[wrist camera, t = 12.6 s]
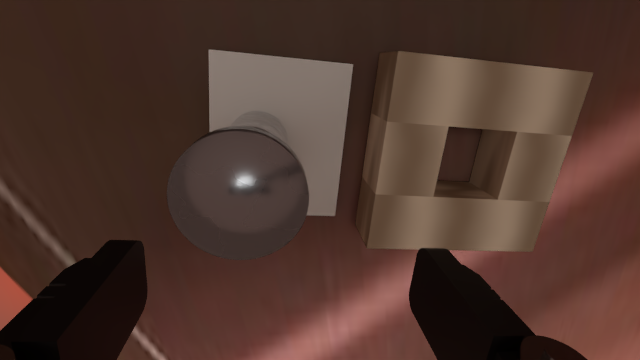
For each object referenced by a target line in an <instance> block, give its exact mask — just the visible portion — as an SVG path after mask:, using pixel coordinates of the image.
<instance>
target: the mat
mask: <svg viewBox="0 0 640 360" xmlns="http://www.w3.org/2000/svg"><path fill="white" fill-rule="evenodd" d="M352 70H353V64H345V63H336V62H326V61H316V60H306V59H297V58H287V57H277V56H268V55H258V54H248V53H238V52H229V51H219V50H209V122H210V132H212V131H214V130H217V129H221V128H225V127H230V126H231V124H232V123H233V122H234V121H235V120H236V119H237V118H238V117H239V116H240V115H242V114H244V113H247V112H250V111H263V112H267V113H269V114H271V115H273V116H275V117H276V118H277V119H278V120H279V121H280V122H281V123H282V124H283V126H284V128H285V130H286V133H287V137H288V146H289V147H290V148H291V149H292V150H293V151H294V153H295V154H296V155H297V157H298V158H299V160H300V162H301V164H302V166H303V169H304V171H305V175H306V179H307V184H308V191H309V206H308V212H307V215H316V216H335V211H336V203H337V195H338V187H339V178H340V170H341V162H342V153H343V145H344V137H345V128H346V120H347V112H348V103H349V95H350V87H351V78H352Z"/></svg>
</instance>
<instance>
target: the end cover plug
mask: <svg viewBox="0 0 640 360" xmlns="http://www.w3.org/2000/svg"><path fill="white" fill-rule="evenodd" d="M167 201H168V207H169V210H170V214H171V216H172V218H173V220H174V222H175V224H176V226H177V227H178V229H179V230H180V231H181V233H182V234H183V235H184V236H185V237H186V238H187V239H188V240H189V241H190V242H191V243H193V244H194V245H195V246H197V247H198V248H200V249H202V250H203V251H205V252H207V253H210V254H212V255H215V256H218V257H221V258H226V259H233V260H249V259H256V258H260V257H263V256H266V255H269V254H271V253H273V252H275V251H277V250H279V249H281V248H282V247H283V246H285V245H286V244H287V243H289V242H290V241H291V240H292V239H293V238H294V236H295V235H296V234H297V233H298V231H299V230H300V228H301V227H302V225H303V223H304V221H305V218H306V215H307V212H308V206H309V191H308V184H307V179H306V175H305V171H304V169H303V166H302V164H301V162H300V160H299V158H298V157H297V155H296V154H295V153H294V151H293V150H292V149H291V148H290V147H289V146H288V137H287V133H286V130H285V128H284V126H283V124H282V123H281V122H280V121H279V120H278V119H277V118H276V117H275V116H273V115H271V114H269V113H267V112H263V111H250V112H247V113H244V114H242V115H240V116H239V117H238V118H237V119H236V120H235V121H234V122H233V123H232V124H231V126H230V127H225V128H221V129H217V130H214V131H212V132H209V133H208V134H206V135H204V136H202V137H201V138H199V139H198V140H197V141H196V142H194V143H193V144H192V145H191V146H190V147H189V148H188V149H187V150H186V151H185V152H184V153H183V154H182V155H181V156H180V158H179V159H178V160H177V162H176V163H175V165H174V167H173V169H172V171H171V174H170V177H169V180H168V186H167Z"/></svg>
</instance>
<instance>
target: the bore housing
mask: <svg viewBox="0 0 640 360" xmlns="http://www.w3.org/2000/svg"><path fill="white" fill-rule="evenodd" d="M592 75H593V73H592V72H583V71H574V70H565V69H556V68H547V67H538V66H529V65H520V64H511V63H502V62H493V61H484V60H475V59H466V58H457V57H448V56H439V55H430V54H421V53H412V52H403V51H392V52H381V53H380V54H379V61H378V68H377V75H376V82H375V89H374V96H373V103H372V110H371V117H370V124H369V131H368V138H367V145H366V152H365V159H364V166H363V173H362V180H361V187H360V194H359V201H358V208H357V215H356V222H355V225H356V227H357V229H358V231H359V233H360V235H361V237H362V239H363V241H364V243H365V246H366V248H371V249H421V248H445V249H448V250H474V251H526V252H532V251H533V249H534V246H535V243H536V240H537V237H538V234H539V231H540V228H541V225H542V222H543V219H544V216H545V213H546V210H547V207H548V205H549V202H550V199H551V196H552V193H553V190H554V187H555V184H556V181H557V178H558V175H559V172H560V169H561V166H562V163H563V161H564V158H565V155H566V152H567V149H568V146H569V143H570V140H571V137H572V134H573V131H574V128H575V125H576V122H577V119H578V116H579V114H580V111H581V108H582V105H583V102H584V99H585V96H586V93H587V90H588V87H589V84H590V81H591V78H592ZM449 126H450V127H463V128H475V129H482V133H481V137H480V141H479V145H478V149H477V153H476V157H475V161H474V165H473V169H472V173H471V177H470V181H469V182H459V181H440V180H437V178H438V173H439V169H440V164H441V160H442V155H443V150H444V146H445V141H446V137H447V132H448V128H449Z"/></svg>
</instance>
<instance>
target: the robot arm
mask: <svg viewBox="0 0 640 360" xmlns="http://www.w3.org/2000/svg"><path fill="white" fill-rule="evenodd" d="M146 299H147V278H146V267H145V255H144V247H143V244H142V242H141V241H134V240H109V241H108V242H106V243H105V244H104V246H103V247H102V248H101V249H100V250H99V251H98V252H97V253H96V254H95V255H94V256H93V257H92V258H84V259H82V260H81V261H79V262H77V263H75V264H73V265H71V266H70V267H68V268H66V269H64V270H63V271H62V272H61V273H60V274H59V275H58V276H57V277H56V278H55V279H54V280H53V281H52V282H51V283H50V285H49V286H46V287H45V288H44V289H43V290H42V291H41V292H40V293H39V294H38V295H37V298H36V299H33V300H32V301H31V302H30V303H29V304H28V305H27V306H26V307H25V308H24V309H23V310H21V311H20V312H19V313H18V314H17V315H16V316H15V317H14V318H13V319H12V320H11V321H10V322H9V323H8V324H7V325H6V326H5V327H4V328H3V329H2V330H1V331H0V360H117V358H118V356H119V354H120V352H121V351H122V349H123V347H124V345H125V343H126V341H127V340H128V338H129V336H130V334H131V332H132V331H133V329H134V327H135V325H136V323H137V321H138V320H139V318H140V316H141V314H142V312H143V310H144V307H145V304H146ZM409 301H410V307H411V310H412V312H413V314H414V316H415V318H416V320H417V322H418V324H419V326H420V328H421V329H422V331H423V333H424V335H425V337H426V339H427V341H428V343H429V344H430V346H431V348H432V350H433V352H434V354H435V356H436V358H437V360H587V359H586V358H585V357H584V356H582V355H581V354H580V353H579V352H577V351H576V350H574V349H573V348H571V347H569V346H568V345H566V344H564V343H562V342H559V341H557V340H554V339H551V338H548V337H544V336H536V335H535V334H534V333H533V332H532V331H531V330H530V328H529V327H528V326H527V325H526V324H525V323H524V322H523V321H522V320H521V319H520V318H519V317H518V316H517V315H516V314H515V312H514V311H513V310H512V309H511V308H510V307H509V306H508V305H507V304H506V303H505V302H504V301H503V300H501V299H500V296H499V295H498V294H497V293H496V292H495V291H494V290H491V287H490V286H489V285H488V284H487V283H486V282H485V280H484V279H483V278H482V277H481V276H480V275H478V274H477V273H475V272H474V271H472V270H471V269H469V268H468V267H466V266H465V265H461V264H460V263H459V261H458V260H457V259H456V258H455V257H454V256H453V255H452V254H451V253H450V251H449V250H448V249H445V248H421V249H420V250H419V251H418V253H417V257H416V262H415V267H414V271H413V276H412V281H411V286H410V291H409Z"/></svg>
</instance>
